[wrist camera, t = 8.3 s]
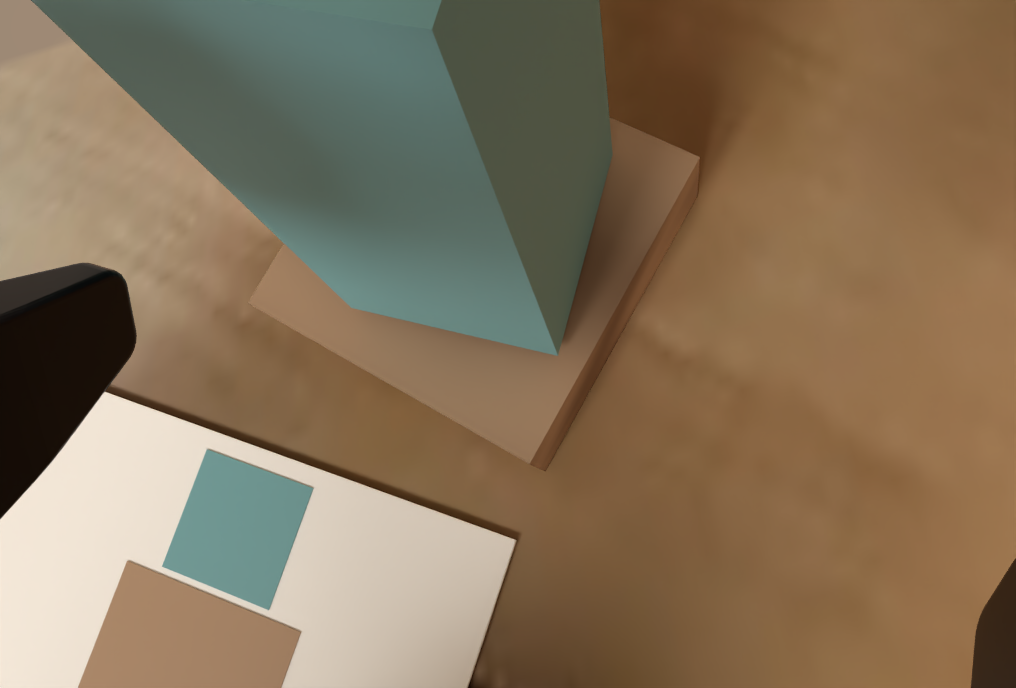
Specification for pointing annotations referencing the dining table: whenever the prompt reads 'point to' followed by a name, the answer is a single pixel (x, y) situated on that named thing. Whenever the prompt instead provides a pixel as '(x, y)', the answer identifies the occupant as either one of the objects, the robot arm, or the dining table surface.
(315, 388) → the dining table surface
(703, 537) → the dining table surface
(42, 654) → the page
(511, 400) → the walnut base brick
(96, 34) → the teal brick
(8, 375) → the robot arm
